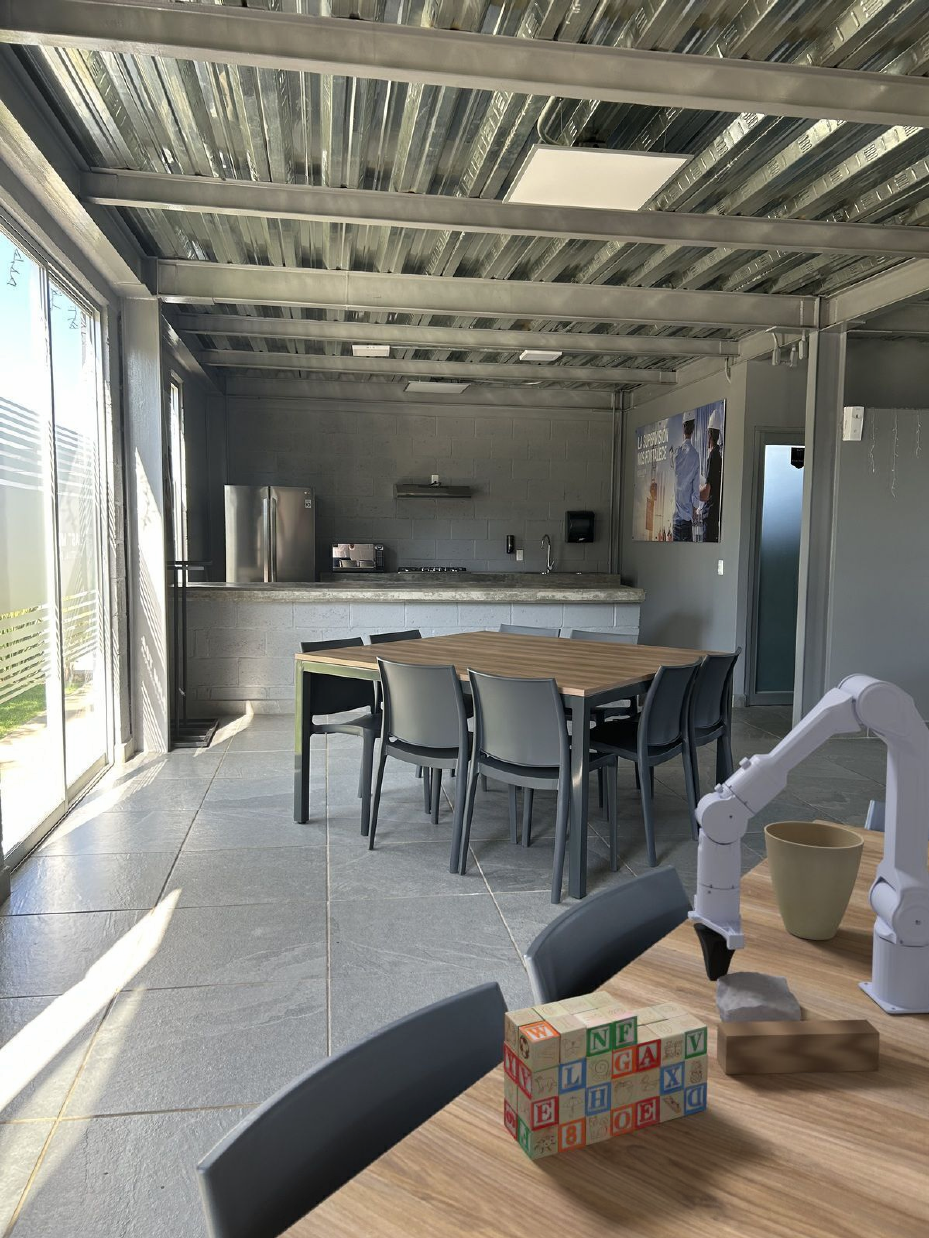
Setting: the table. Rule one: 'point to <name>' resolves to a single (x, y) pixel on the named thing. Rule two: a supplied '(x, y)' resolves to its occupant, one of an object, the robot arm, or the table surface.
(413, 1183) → the table surface
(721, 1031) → the board
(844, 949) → the table surface
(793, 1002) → the stone block
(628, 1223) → the table surface
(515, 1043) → the stack of blocks
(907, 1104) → the table surface
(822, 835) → the plant pot
